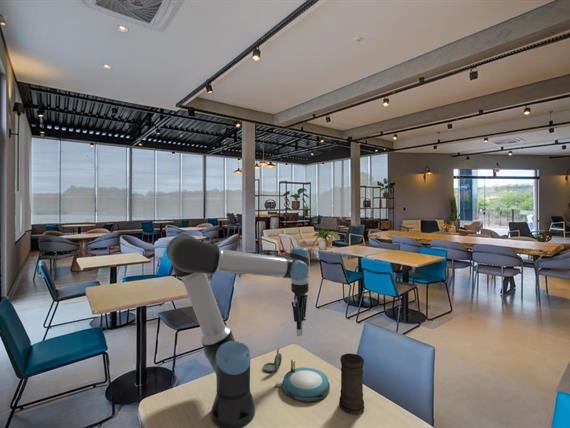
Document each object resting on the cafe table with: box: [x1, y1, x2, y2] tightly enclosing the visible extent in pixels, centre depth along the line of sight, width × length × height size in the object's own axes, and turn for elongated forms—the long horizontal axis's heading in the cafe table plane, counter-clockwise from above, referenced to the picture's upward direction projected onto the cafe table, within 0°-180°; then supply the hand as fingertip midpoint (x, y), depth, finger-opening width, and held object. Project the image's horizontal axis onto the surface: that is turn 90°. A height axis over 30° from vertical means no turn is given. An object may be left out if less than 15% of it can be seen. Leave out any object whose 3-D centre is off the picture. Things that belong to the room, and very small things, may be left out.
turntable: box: [283, 359, 329, 397], centre depth 124 cm, size 18×18×6 cm
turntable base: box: [275, 379, 331, 404], centre depth 124 cm, size 22×19×2 cm
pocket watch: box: [262, 347, 283, 373], centre depth 137 cm, size 8×8×10 cm
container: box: [338, 352, 365, 416], centre depth 112 cm, size 9×9×18 cm
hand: (300, 335), depth 136 cm, fingers closed
